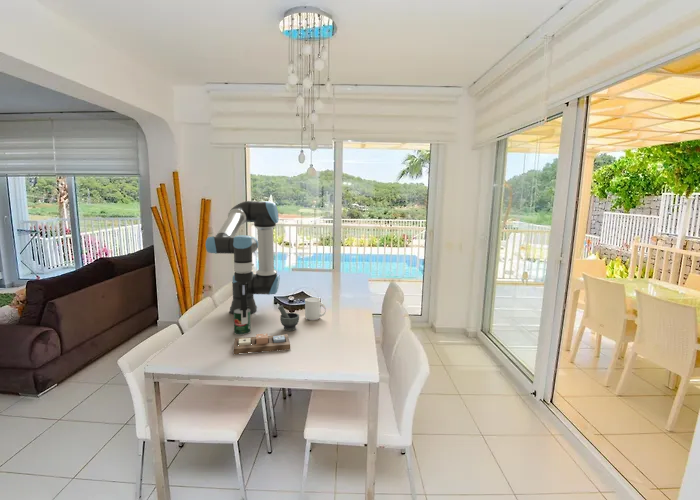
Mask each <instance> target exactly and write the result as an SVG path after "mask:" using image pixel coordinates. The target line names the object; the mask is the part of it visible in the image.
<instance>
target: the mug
mask: <svg viewBox="0 0 700 500" xmlns="http://www.w3.org/2000/svg"><path fill="white" fill-rule="evenodd" d="M304 299H305V300H304V316H305V317H304V318H305V319H306V320H308V321H317V320H319V319H320V318H321V317H324V315H326V311H327V310H326V309H327V308H326V306H325V305H324V303H323V302H321V298H319V297H307V298H304ZM321 307H323V308H324V312H323V313H321Z"/></svg>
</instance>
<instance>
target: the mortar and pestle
mask: <svg viewBox="0 0 700 500" xmlns="http://www.w3.org/2000/svg"><path fill="white" fill-rule="evenodd" d="M277 309H278V311H279V312H280V314H281V315H280V316H279V317H280V324H281V325H282V326H283V330H284V331H288V332H291V331H292V332H293V331H294V330H296V329H297V325H298V324H299V322H300V314H298V313H296V312H287V311H286V309H285V308H284V305H283V304H282V305H279V306H278V307H277Z"/></svg>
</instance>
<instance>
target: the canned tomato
mask: <svg viewBox="0 0 700 500" xmlns="http://www.w3.org/2000/svg"><path fill="white" fill-rule="evenodd" d="M240 309H241V308H240ZM240 309H236V310H234V314H233V330H234V331H233V333H234V334H235V335H238V336H244V335H248V334H249V333H251V332H252V331H251V314H250V309H248V308H247V309H248V324H241V310H240ZM243 334H244V335H243Z"/></svg>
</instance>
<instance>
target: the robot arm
mask: <svg viewBox="0 0 700 500" xmlns="http://www.w3.org/2000/svg"><path fill="white" fill-rule="evenodd" d="M245 223H253V224H254V228H256V230H257V231H256V232H257V233H256V234H257V238H256V237H254V236H250V235H248V234H247V235H246V234H244V235H243V234H239V235H237V234H238V231H239V230H240V228H241V226H242V225H244V224H245ZM278 223H279V211H278V206H277V205H276V203H275V202H273V201H266V200H265V201H264V200H255V201H254V200H247V201H242V202H240V203H237V204H236V205H234V206H233V207H231V209H230V210H229V211H228V213H227V217H226V220H225V221H224V223H223V224H222V226H221V227H220V229H219V231H217V234H216V235H215V236H209V237H207V238H206V239H205V249H206V252H207V253H208V254H209V253H210V254H227V255H228V254H231V255H233V270H234V273H233V275H232V280H231V282H232V287H231V288H232V301H231V303H230V304H231V305H230V308H229V313H230V314H231V315H234V310H236V309H240V308H241V309H240V310H241V324H248V309H250V315H251V314H254V313H256V312H257V310H258V309H257V308H258V307H257V305H256V301H255V298H254V295H268V296H270V295H276V294H277V293H278V291H279V286H280V279H281V277H280V274H278V272H277V270H276V269H275V258H274V256H275V254H274V229H275V227H276V225H277V224H278ZM256 251H257V254H258V255H257V257H258V259H257V260H258V270H257V271H256V272H255V274H254V271H253V266H254V265H255V264H254V263H253V253H255V252H256ZM247 308H248V309H247Z"/></svg>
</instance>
